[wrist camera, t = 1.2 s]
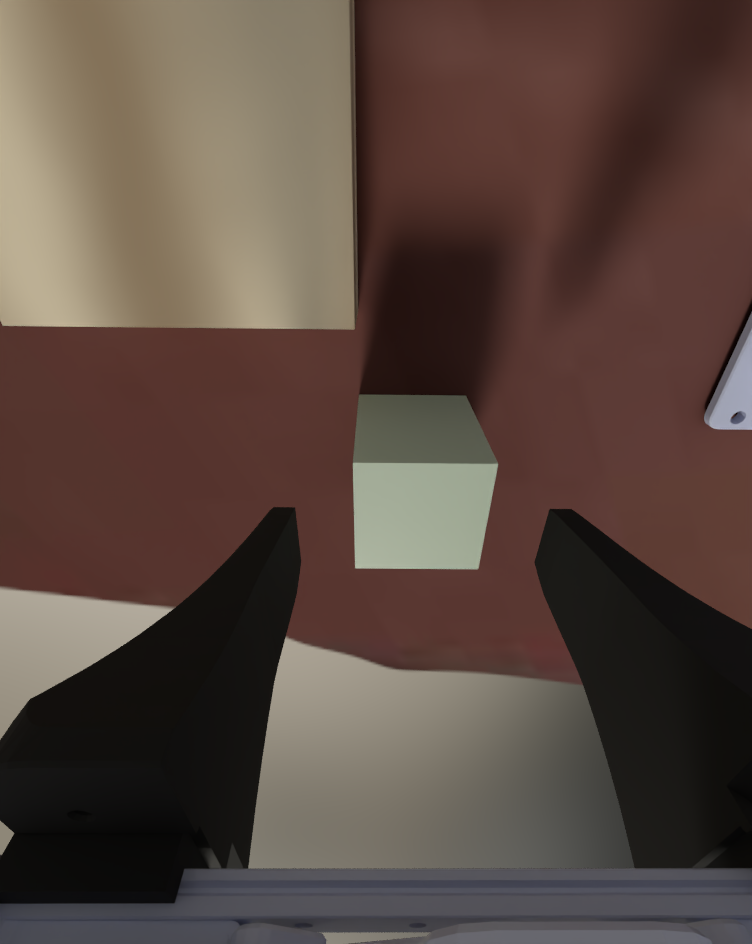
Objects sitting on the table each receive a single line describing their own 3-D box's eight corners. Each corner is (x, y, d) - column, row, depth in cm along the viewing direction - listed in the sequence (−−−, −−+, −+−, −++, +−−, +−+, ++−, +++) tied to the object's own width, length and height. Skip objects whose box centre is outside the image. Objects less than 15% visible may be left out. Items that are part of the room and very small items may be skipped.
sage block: (465, 395, 16) (498, 463, 12) (454, 483, 18) (478, 568, 14) (358, 394, 16) (352, 462, 12) (360, 483, 18) (355, 568, 14)
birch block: (353, -172, 9) (344, -313, 7) (358, 307, 15) (354, 329, 12) (-105, -179, 9) (-286, -323, 7) (67, 304, 15) (3, 325, 12)
